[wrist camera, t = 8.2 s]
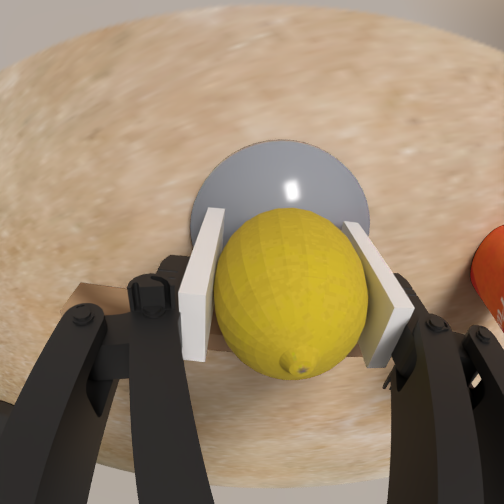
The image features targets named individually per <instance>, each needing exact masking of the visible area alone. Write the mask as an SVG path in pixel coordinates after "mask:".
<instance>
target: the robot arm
mask: <svg viewBox="0 0 504 504" xmlns="http://www.w3.org/2000/svg"><path fill="white" fill-rule="evenodd" d="M224 216H225V209H222V208H210V207H208V210H207V212H206V215H205V218H204V221H203V223H202V226H201V229H200V232H199V234H198V237H197V240H196V243H195V245H194V248H193V251H192V254H191V257H187V256H176V255H170V256H168V257H167V258H166V259H164V260H163V261H162V262H161V264H160V266H159V268H158V271H157V272H156V274H152V273H150V274H144V275H140V276H138V277H135V278H134V279H133V280H131V281H130V282H129V284H128V286H127V292H128V299H129V305H130V312H127V313H123V314H116V315H104V312H103V309H102V308H101V307H99V306H98V305H96V304H93V303H81V304H77V305H74V306H73V307H71V308H69V309H68V310H67V311H66V312H65V313H64V315H63V316H62V318H61V320H60V321H59V323H58V325H57V326H56V328H55V330H54V331H53V333H52V335H51V336H50V338H49V340H48V342H47V343H46V345H45V347H44V349H43V351H42V352H41V354H40V356H39V358H38V360H37V361H36V363H35V365H34V367H33V369H32V371H31V373H30V375H29V377H28V379H27V381H26V383H25V385H24V387H23V389H22V391H21V393H20V395H19V397H18V399H17V401H16V403H15V405H14V406H13V405H11V404H8V403H5V402H2V401H0V504H87V500H88V495H89V490H90V486H91V482H92V477H93V472H94V469H95V464H96V460H97V456H98V452H99V449H100V445H101V441H102V437H103V433H104V430H105V426H106V422H107V419H108V415H109V412H110V408H111V405H112V402H113V398H114V395H115V392H116V388H117V385H118V382H119V379H125V378H129V386H130V415H131V433H132V446H133V458H134V468H135V477H136V485H137V493H138V500H139V504H214V500H213V496H212V493H211V489H210V485H209V481H208V477H207V473H206V469H205V465H204V461H203V457H202V453H201V448H200V444H199V439H198V435H197V430H196V425H195V421H194V416H193V411H192V406H191V401H190V395H189V390H188V384H187V379H186V373H185V367H184V361H183V360H191V361H200V362H205V360H206V353H207V347H208V340H209V334H210V328H211V321H212V315H213V309H214V291H213V285H214V278H215V273H216V269H217V264H218V260H219V257H220V255H221V253H222V247H223V231H224ZM341 231H342V232H343V233H344V234H345V235H346V237H347V238H348V239H349V241H350V242H351V244H352V246H353V247H354V249H355V251H356V252H357V254H358V256H359V258H360V260H361V263H362V266H363V270H364V275H365V280H366V285H367V291H368V307H367V315H366V321H365V326H364V328H363V330H362V333H361V335H360V337H359V339H358V344H359V347H360V349H361V352H362V355H363V358H364V361H365V364H366V367H367V368H385V367H386V365H387V363H388V362H389V360H390V358H391V356H392V358H393V360H394V363H395V365H394V367H393V369H392V371H391V372H390V374H389V376H388V377H387V379H386V381H385V383H384V385H383V389H386V387H387V385H388V384H389V382H391V387H390V388H389V390H391V457H390V475H389V488H388V499H387V500H388V501H387V504H504V349H503V348H502V346H501V345H500V343H499V342H498V340H497V339H496V337H495V336H494V335H493V333H492V332H491V331H489V330H488V329H487V328H486V327H483V326H479V325H473V326H471V327H470V328H469V330H468V332H467V333H466V335H463V334H459V333H455V332H452V330H451V328H450V326H449V324H448V323H447V322H446V321H445V320H444V319H442V318H441V317H439V316H437V315H434V314H429V313H428V311H427V310H426V308H425V307H424V305H423V304H422V302H421V301H420V299H419V297H418V296H416V295H417V294H416V293H415V291H414V290H412V287H411V285H410V284H409V282H408V281H407V280H406V279H405V278H403V277H402V276H401V275H400V274H398V273H392V271H391V270H390V268H389V267H388V265H387V264H386V262H385V261H384V259H383V258H382V256H381V255H380V253H379V252H378V250H377V249H376V247H375V246H374V245H373V243H372V242H371V240H370V239H369V237H368V236H367V235H366V233H365V232H364V230H363V229H362V227H361V226H360V225H359V223H356V222H348V221H343V226H342V230H341ZM478 373H479V375H480V377H481V379H482V380H481V381H480V382H479V384H478V385H477V386H476V387H475V388H474V387H473V386H472V384H471V383H472V381H473V380H474V378H475V377H476V376H477V374H478Z"/></svg>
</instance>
